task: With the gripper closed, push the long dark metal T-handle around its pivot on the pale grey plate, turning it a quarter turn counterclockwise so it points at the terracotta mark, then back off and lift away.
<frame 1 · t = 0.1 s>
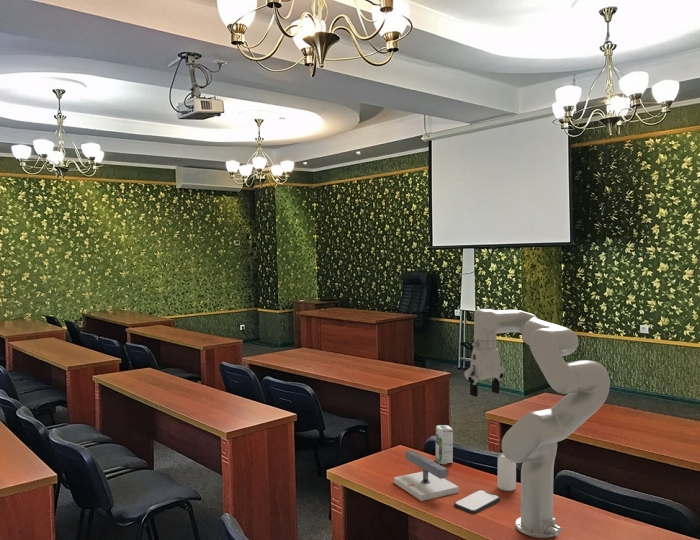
hand: (484, 394, 196), 37 cm above the table, tool pointing down, fingers open, 9 cm apart
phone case: (477, 504, 193), on the table
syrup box: (444, 462, 233), on the table
can: (506, 488, 206), on the table
key plate: (425, 487, 207), on the table
t key: (425, 470, 206), point 6 cm above the table, hinge at 0.0°
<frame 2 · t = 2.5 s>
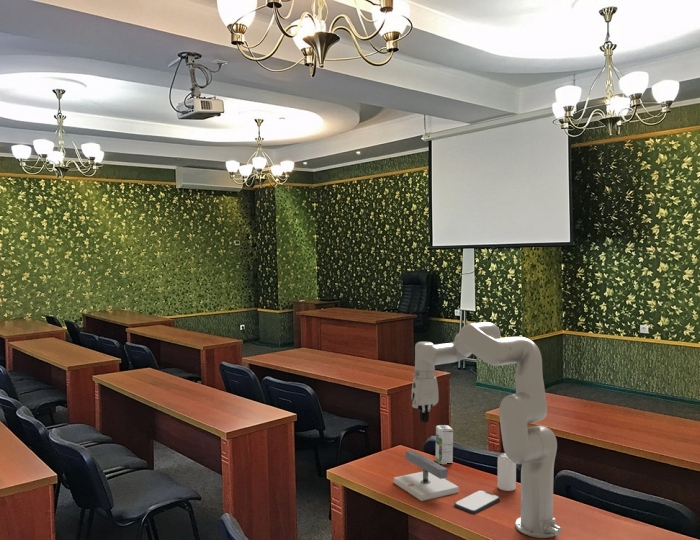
hand: (424, 421, 218), 21 cm above the table, tool pointing down, fingers closed
nothing on the table moved.
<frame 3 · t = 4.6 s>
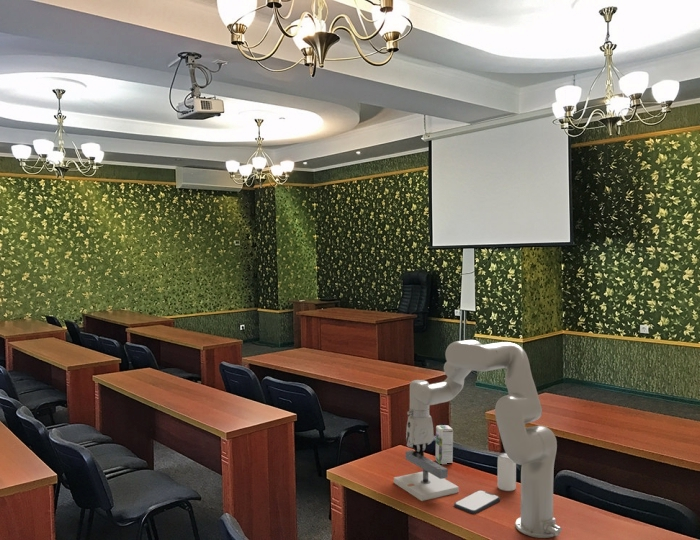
hand: (419, 460, 217), 6 cm above the table, tool pointing down, fingers closed
t key: (425, 470, 206), point 6 cm above the table, hinge at 0.0°, touching gripper
everything else where it was.
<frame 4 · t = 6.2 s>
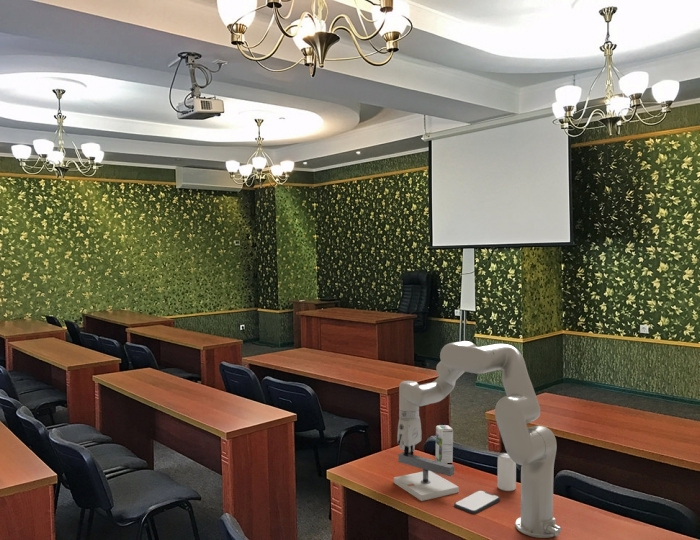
hand: (408, 461, 216), 6 cm above the table, tool pointing down, fingers closed
t key: (425, 470, 206), point 6 cm above the table, hinge at 22.7°, touching gripper
everything else where it was.
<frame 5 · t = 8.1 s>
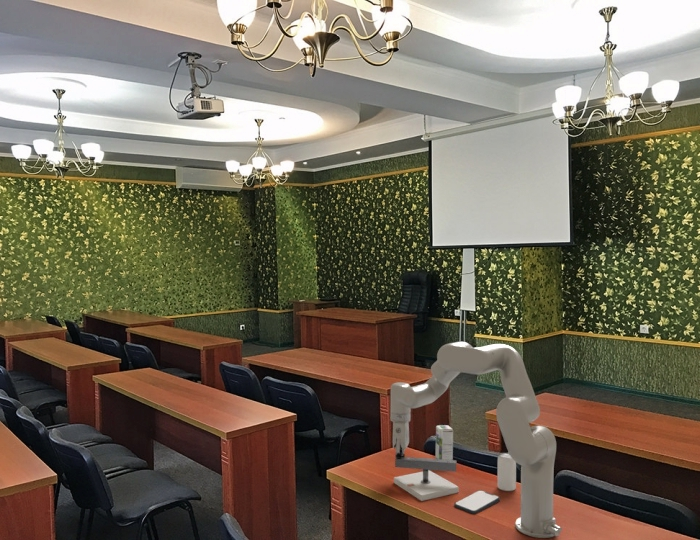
hand: (399, 464, 212), 6 cm above the table, tool pointing down, fingers closed
t key: (425, 470, 206), point 6 cm above the table, hinge at 51.1°, touching gripper
everything else where it was.
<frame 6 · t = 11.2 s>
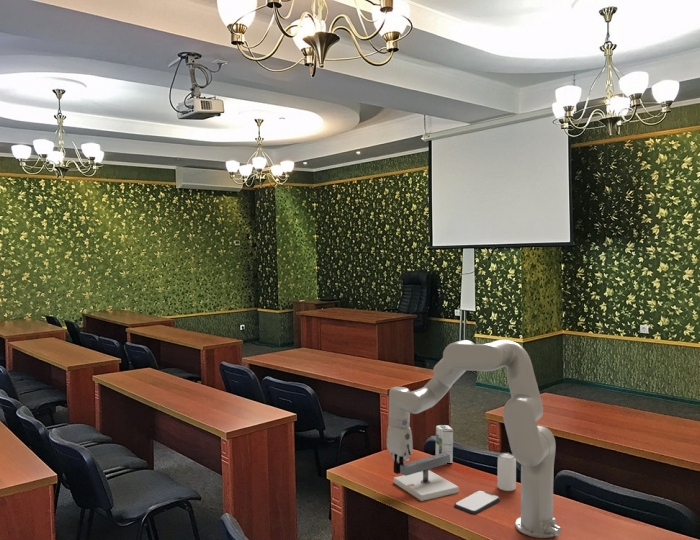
hand: (398, 472, 204), 6 cm above the table, tool pointing down, fingers closed
t key: (425, 470, 206), point 6 cm above the table, hinge at 98.5°, touching gripper
everything else where it was.
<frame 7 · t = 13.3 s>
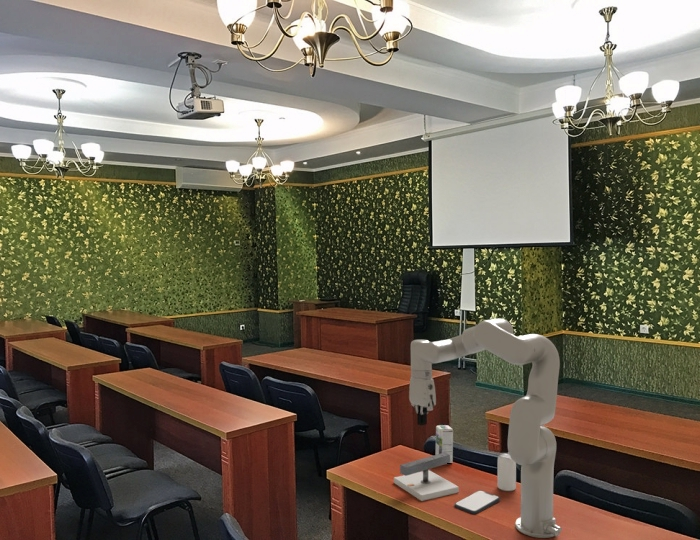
hand: (422, 424, 206), 23 cm above the table, tool pointing down, fingers closed
t key: (425, 470, 206), point 6 cm above the table, hinge at 98.5°
everything else where it was.
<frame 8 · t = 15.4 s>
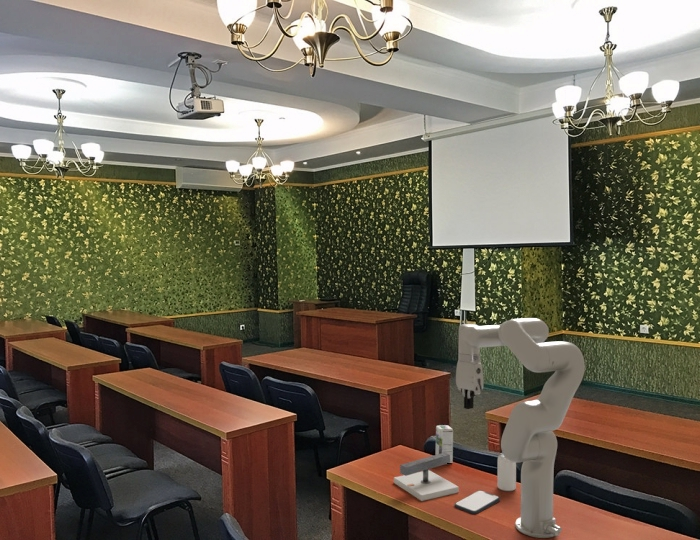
hand: (468, 408, 206), 29 cm above the table, tool pointing down, fingers closed
nothing on the table moved.
at the end: t key at +98° (first picture: +0°) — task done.
